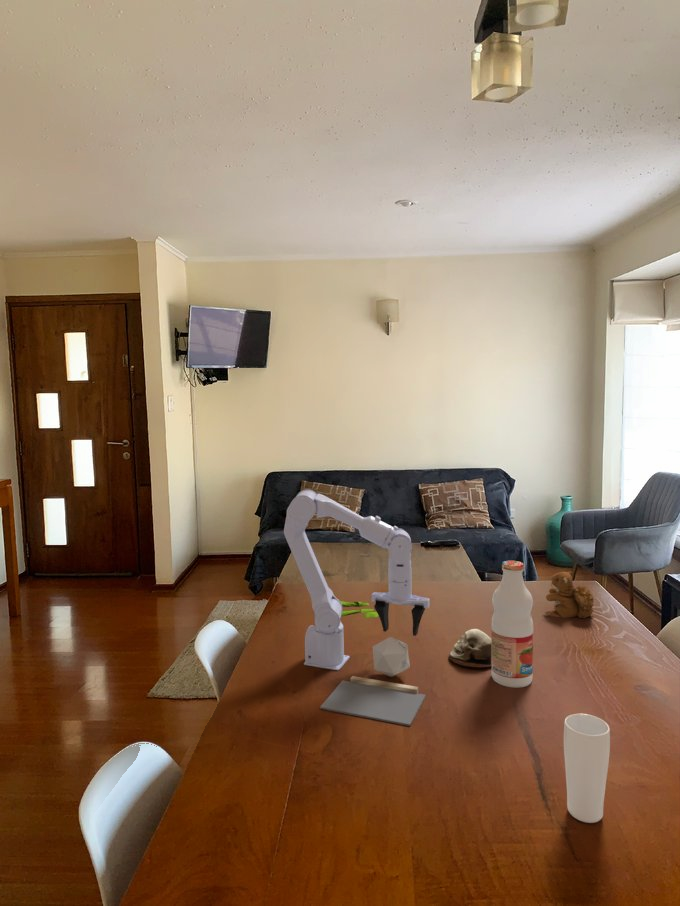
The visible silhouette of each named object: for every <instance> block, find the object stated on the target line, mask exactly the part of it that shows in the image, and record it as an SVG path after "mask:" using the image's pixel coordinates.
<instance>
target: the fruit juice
mask: <svg viewBox="0 0 680 906" xmlns="http://www.w3.org/2000/svg"><path fill="white" fill-rule="evenodd" d="M501 570H502V571H503V572H502V579H501V581H500V584H499V586H497V587H496V589H495V590H494V592H493V593H492V599H491V600H492V601H491V602H492V606H493V609H494V610H493V611H494V612H493V613H492V614H493V615H492V616H491V637H490V638H491V666H490V667H491V668H490V669H491V670H490V671H491V673H490V674H491V678H492V680H493V682H495V683H497V684H499V685H500V686H504V687H508V688H517V689H518V688H524V687H528V686H529V685H530V684H532V681H533V677H534V675H533V673H534V669H533V668H534V666H533V665H534V664H533V663H534V620H533V617H532V614H531V612H532V609H533V606H534V598H533V596H532V594H531V592H530V591H529V589H528V588H527V587H526V584H525V581H524V578H523V572H524V570H525V564H524V563H523V562H521V561H517V560H506V561H505V560H504V561H502V563H501Z"/></svg>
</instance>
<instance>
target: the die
mask: <svg viewBox="0 0 680 906" xmlns="http://www.w3.org/2000/svg"><path fill="white" fill-rule="evenodd" d="M372 657H373V658H372V659H373V667H374V670H375V671H376V672H379V673H382V674H384V675H385V676H387V677H390V678H392V677H394V676H396V675H398V674H400V673H402V672H404V671H405V670H407V669H409V668H411V665H410V657H409V648H408V644H407V643H405V642H403V641H401V640H399V639H397V638H395V637H392V636H389V637H388V638H386V639H383V640H382V641H380V642H378V643H377V644H374V645H373V646H372Z"/></svg>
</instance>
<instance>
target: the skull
mask: <svg viewBox="0 0 680 906" xmlns="http://www.w3.org/2000/svg"><path fill="white" fill-rule="evenodd" d="M448 658H449V659H450V661H452V662H453V663H455V664H458V666H459V665H460V666H464V667H471V668H488V667H491V637H490V636H489V635H488V634H487V633H485V632H484V631H482V630H480V629H479V628H472V629H469V630H467V631H465V632H464V635H461V636H460V637H459V640H457V642H455V644H454V645H453V650H452V651H451V652H450V653H449V655H448Z"/></svg>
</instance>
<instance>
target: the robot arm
mask: <svg viewBox="0 0 680 906" xmlns="http://www.w3.org/2000/svg"><path fill="white" fill-rule="evenodd" d="M315 514H316V519H320V518H326V517H327V518H328V517H330V518H333V519H335V520H337V521H338V522H341V523H344V524H346V525H348V526H350V527H352V528H354V529H356V530H358V532H359V535H360V537H361V538H363V539H365V540H366V541H369V542H371V543H373V544H375V545H377V546H379V547H381V548H383V549H387V551H388V553H389V556H388V557H389V559H388V563H387V564H388V565H387V567H388V568H387V569H388V570H387V571H388V577H387V579H388V584H387V585H388V592H377V591H376V592H375V591H374V592H373V593H371V599H370V600H371V602H372V603H374V604H375V605H373V606H374V608H373V609H374V611H375V612H377V613H378V615H379V616H378V618H379V619H380V623H381V626H382V631H383V632H384V633H385V632H387V631H388V630H389V624H390V623H389V621H390V620H389V609H390V608H389V607H390V604H392V605H404V606H410V607H411V606H412V607H413V608H411V615H412V617H411V618H412V636H415V637H417V635H418V634H419V633H418V632H419V627H420V623H421V620H422V617H423V615H424V613H425V610H426V609H429V608H430V605H431V604H430V599H431V598H429V597H423V596H419V595H415V594H412V588H413V587H412V573H413V572H412V559H411V558H412V554H411V552H412V550H413V545H412V539H411V536H410V534H409V533H408V532H407V531H406V530H404V529H403V528H399V527H398V526H396V525H394V526H392V525H390V524H388V523H386V522H384V521H382V520H381V519H382V518H381V517H380V516H378V515H375V516H373V515H369V516H365V517H364V516H361V515H360V514H358V513H357V512H354V511H353V510H351V509H349V508H348V507H346V506H345V505H342V504H341V503H338V502H337V501H335V500H333V499H332V498H329V497H328V496H326V495H324V494H321V493H317V492H315V491H314V490H312V489H303V490H301V491H299V492H298V493H297V494H296V496H295V497H294V498H293V499H292V500H291V502H290V503H289V506H288V507H287V508H286V517H285V523H284V528H283V534H284V538H285V540H286V542H287V544H288V546H289V549H290V551H291V554H292V555H293V558H294V560H295V562H296V565H297V568H298V571H299V572H300V574H301V577H302V579H303V581H304V584H305V587H306V589H307V592H308V593H309V596H310V599H311V600H310V601H311V607H312V610H313V612H314V625H312V624H311V625H309V626H308V628H307V629H306V631H305V636H304V654H305V655H304V656H305V657H304V660H305V661H304V662H303V665H304V666H309V667H315V668H320V669H321V668H322V669H328V670H334V671H339V670H340V669H341V668H342V667H344V665H345V664H346V662H347V661H348V660H349V659H351V657H350V655H347V654H345V647H344V646H345V645H344V644H345V643H344V642H345V639H344V624H343V623H342V621H341V617H342V616H341V614H342V612H343V611H344V610H343V606H342V604H341V602H340V601H341V600H340V599H338V598H337V597H336V596H335V595H334V592H333V590H332V589H331V588H330V587H329V586H328V583H327V581H326V578H325V576H324V574H323V571H322V569H321V567H320V564H319V562H318V560H317V557H316V554H315V552H314V550H313V547H312V546H311V543H310V540H309V539H308V536H307V534H306V528H307V526H308V524H309V522H310V521H311V519H313V517H314V515H315Z"/></svg>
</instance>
